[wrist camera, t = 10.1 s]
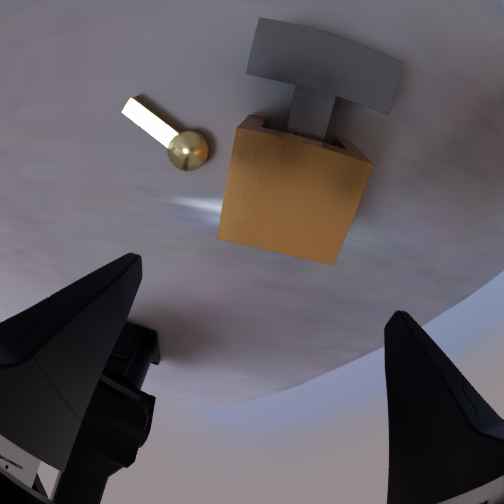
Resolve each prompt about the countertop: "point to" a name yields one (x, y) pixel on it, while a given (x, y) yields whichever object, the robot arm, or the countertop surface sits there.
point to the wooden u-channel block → (291, 192)
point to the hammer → (322, 73)
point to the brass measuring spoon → (170, 135)
